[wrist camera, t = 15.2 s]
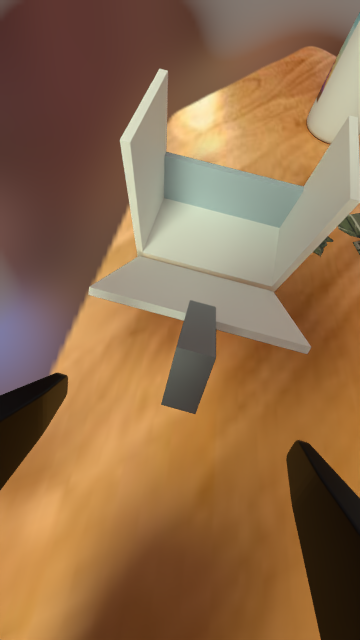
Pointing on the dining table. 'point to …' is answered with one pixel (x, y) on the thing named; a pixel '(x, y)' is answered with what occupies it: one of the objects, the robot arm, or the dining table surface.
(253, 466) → the dining table surface
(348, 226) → the eiffel tower figurine
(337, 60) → the milk bottle
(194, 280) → the carton flap
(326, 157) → the carton
